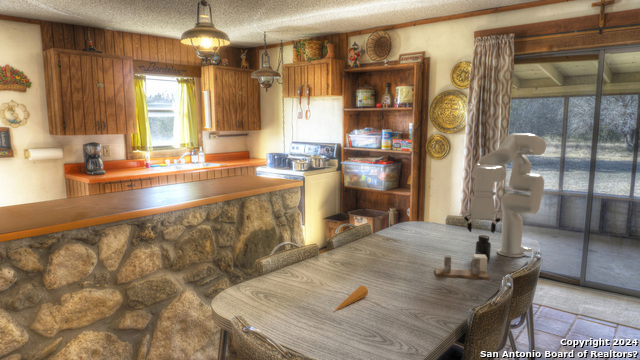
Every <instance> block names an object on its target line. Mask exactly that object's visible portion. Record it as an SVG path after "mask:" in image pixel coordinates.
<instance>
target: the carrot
mask: <svg viewBox="0 0 640 360" xmlns="http://www.w3.org/2000/svg"><path fill="white" fill-rule="evenodd" d="M368 294H369V289H368V288H367V286H365V285H360V286H358V287H357V288H356V289H355V290H354V291H353V292H352V293H351V294H350V295H348V296H347V297H346V298H345V300H343V301H342V302H341V303H340V304H339V305H338V306H337V307H336V308H335V310H334V312H336V310H337V311H339V310H341V309H343V307H344V308H345V306H346V307H347V305H348V306H350V305H352V304H353V302H354V303H356V302H357V301H360V300H362V299H363V298H365V297H366V296H368ZM351 303H352V304H351ZM349 304H350V305H349Z"/></svg>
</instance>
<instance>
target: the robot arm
mask: <svg viewBox="0 0 640 360" xmlns="http://www.w3.org/2000/svg"><path fill="white" fill-rule="evenodd" d="M546 149H547V142H546V141H545V139H544V138H543V137H541V136H538V135H537V134H533V133H510V134H508V135H507V136H506V137H505V138H504V139H503V141H502V142H501V144H500V145H499V147H498V148H497V149H495V150H494V151H491V152H489V153H488V154H485V155H483V156H481V157H480V158H479V159H478V161H477V162H476V163H475V165H474V166H473V169H472V176H473V177H472V178H474V193H473V194H474V195H473V196H472V197H471V199H470V206H469V207H470V208H469V209H467V210H465V211H462V212H461V215H462V217H463V219H464V220H465V222H467V230H468V232H469V233H472V227H473V225H472V221H474V220H483V221H491V226H490V232H491V233H493V234H495V231H496V230H497V228H496V227H497V224H498V223H500V221H501V220H502V221H501V235H500V236H501V237H500V248H498V249H496V252H497V253H498V254H499V255H501V256H503V257H504V256H505V257H508V258H509V257H510V258H521V257H524V256H525V253H526V252H527V253H531V252H532V250H533V249H532V248H531V247H526V246H523V245H522V241H523V227H524V225H523V224H524V221H523V218H522V216H521V214H524V215H525V214H526V215H536V214H538V213H539V210H540V207H541V203H542V198H543V195H544V194H543V193H544V189H545V179H544V177H543V176H542V175H541V174H537V173H531V169H532V163H531V161H530V159H529V158H528V157H527V155H529V156H542V155H543V154H544V153H545V151H546ZM511 162H512V168H511V172H510V176H509V181H508V187H509V189H510V190H511V191H514V192H507V193H505V194H503V195H502V196H501V201H500V202H501V203H500V204H501V210H502V211H501V212H502V213H501V212H499V211H497V210H496V209H495V208H496V207H495V205H496V204H495V198H494V197H493V196H496V195H497V193H496V192H495V191H494V183H501V182H503V181H504V180H505V179H506V176H507V170H506V169H505V168H504V167H503V165H506V164H510V163H511ZM517 192H520V193H517ZM521 192H522V193H521ZM525 193H528V194H525ZM529 193H530V194H529ZM468 214H469V217H467V215H468ZM496 215H497V218H496V219H495V216H496Z"/></svg>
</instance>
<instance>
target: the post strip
mask: <svg viewBox="0 0 640 360" xmlns="http://www.w3.org/2000/svg"><path fill="white" fill-rule="evenodd" d="M471 264H472V268H471V270H467V269H452V256H451V255H446V254H445V255H444V260H443V268H440V267H439V268H437V267H434V271H435V276H436V277H445V278H447V277H449V278H450V277H451V278H463V279H475V280H477V279H479V280H490V276H489V274H488V273H487V272H486V271H480V258H479V257H473V256H472V263H471Z"/></svg>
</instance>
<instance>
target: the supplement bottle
mask: <svg viewBox="0 0 640 360" xmlns="http://www.w3.org/2000/svg"><path fill="white" fill-rule="evenodd" d="M477 239H478V240H476V241H475V251H474V252H475V253H474V254H484V255H486V257H487V263H488V262H490V260H491V250H492V246H491V245H492V243H491V242H490V236H489V235H485V234H484V235H483V234H480V235H478V238H477Z"/></svg>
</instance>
